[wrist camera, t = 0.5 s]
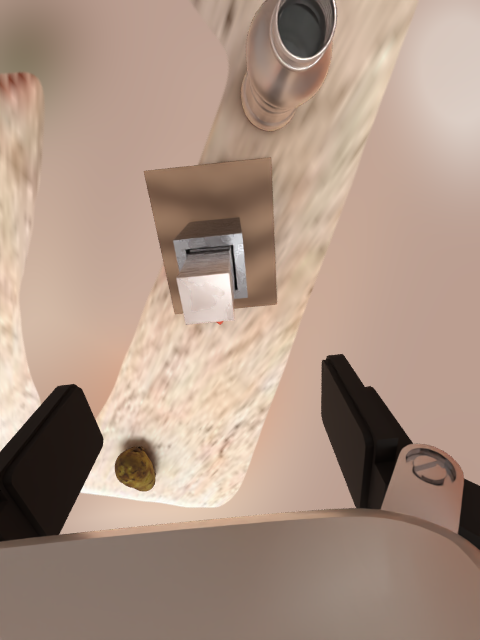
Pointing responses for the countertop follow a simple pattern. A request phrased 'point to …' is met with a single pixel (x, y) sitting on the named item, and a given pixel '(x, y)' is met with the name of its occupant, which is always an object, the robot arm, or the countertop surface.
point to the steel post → (207, 285)
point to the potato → (135, 469)
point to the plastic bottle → (286, 58)
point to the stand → (218, 222)
